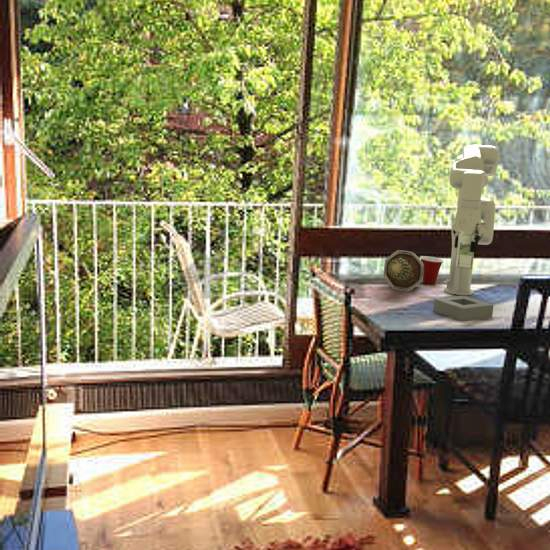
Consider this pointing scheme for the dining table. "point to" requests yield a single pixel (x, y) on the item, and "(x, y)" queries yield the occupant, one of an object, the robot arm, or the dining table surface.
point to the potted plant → (403, 270)
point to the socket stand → (463, 308)
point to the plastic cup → (431, 269)
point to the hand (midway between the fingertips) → (465, 249)
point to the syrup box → (464, 251)
